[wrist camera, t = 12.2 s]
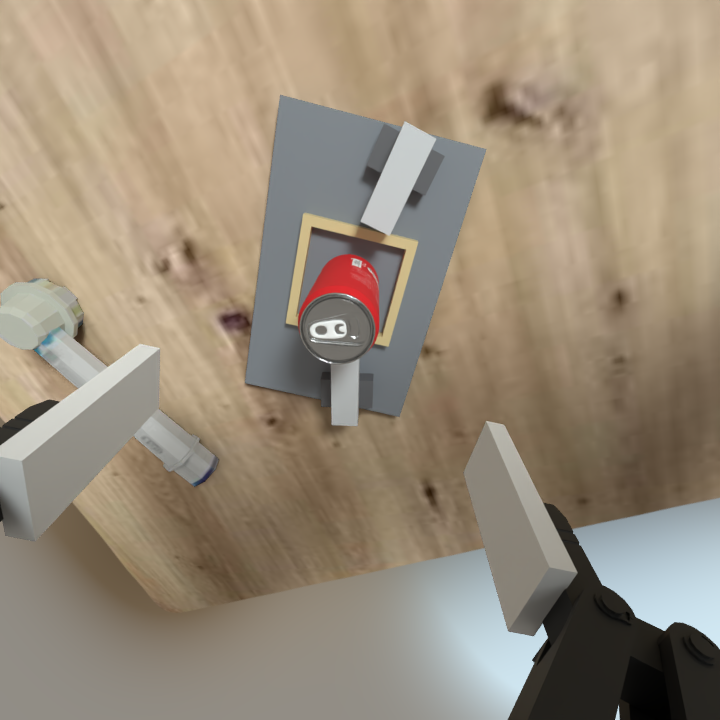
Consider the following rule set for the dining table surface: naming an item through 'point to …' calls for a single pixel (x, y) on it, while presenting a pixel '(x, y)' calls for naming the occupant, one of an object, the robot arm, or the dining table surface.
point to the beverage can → (341, 311)
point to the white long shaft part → (90, 367)
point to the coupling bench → (355, 247)
